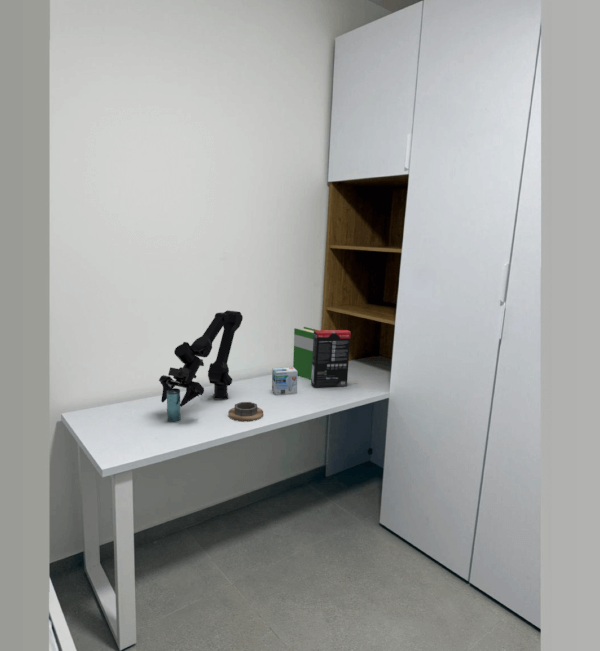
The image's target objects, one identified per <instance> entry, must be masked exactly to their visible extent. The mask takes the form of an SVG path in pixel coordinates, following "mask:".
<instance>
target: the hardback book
mask: <svg viewBox="0 0 600 651" xmlns="http://www.w3.org/2000/svg"><path fill="white" fill-rule="evenodd" d="M293 330H294V331H293V334H294V336H293V362H292V364H293V366H292V367H294V368H295V369H296V370H297V371H298V376H299V377H301V378H304V379H306V380H309V381H311V374H312V357H313V338H314V330H317V329H315V328H313V327H306V326H304V327H303V328H294V329H293ZM298 376H297V377H298Z"/></svg>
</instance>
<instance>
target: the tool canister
mask: <svg viewBox="0 0 600 651" xmlns="http://www.w3.org/2000/svg"><path fill="white" fill-rule="evenodd" d="M180 404H181V389H180V388H176V387H174V388H172V389H168V390H167V399H166V411H167V412H166V417H167V418H166V420H167V422H169V423H178V422H180V421H181V420H182V419H181V406H180Z"/></svg>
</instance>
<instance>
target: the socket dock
mask: <svg viewBox="0 0 600 651" xmlns="http://www.w3.org/2000/svg"><path fill="white" fill-rule="evenodd" d="M227 416H228V417H229V419H231V418H232V419H231V420H233V419H234V420H233V421H236V420H238V421H237V422H244V421H247V422H254V421H253V420H255V421H258V420H260V419H262V418H263V417H264V410H263V409H262V408H260V407H258V404H257V403H255V402H252V401H241V402H238V403H234V407H232V408H230V409H229V410H228V415H227ZM262 416H263V417H262ZM261 417H262V418H261ZM257 419H258V420H257Z"/></svg>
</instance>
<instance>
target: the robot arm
mask: <svg viewBox="0 0 600 651" xmlns="http://www.w3.org/2000/svg"><path fill="white" fill-rule="evenodd" d="M243 318H244V317H243V315H242V313H241V312H240V311H235V310H228V309H227V310H225V311H224V312H216V313H215V315H214V318H213V319H212V321H211V322H210V324H209V325H208V326H207V328H206V329H205V331H204V333H203V334H202V335H201V336H199V337H198V338H196V339H195V340H194V341H192V344H190V343H189V342H187V341H183V342H182V343H181V344H179V345H177V346H176V347H175V349H174V355H175V356H176V357H177V358H178V360H179V361H180V362H181V363H182V364H183V365H182V366H183V367H181V366H180V367H179V368H176V367H170V368H169V369H168V370H169V371H168V375H165V374H163V375H160V378H159V379H158V381H159V382H160V384H161V385H162V394H161V400H160V401H161V403H164V402H165V401H167V390H168V389H172V388H176V387H179V388H183V389H186V390H185V393H184V396H183V397H182V399H181V400H180V408H183V407H185V405H187V404H188V403H189V402H190V401H192V400H193V399H195V398H196V397H199V396H203V394H204V392H205V387H203V385H201V383H200V382H198V381H193V380H194V379H197V375H196V374H197V372H198V371H199V369H200V367H204V366H205V363H204V359H202V358H207V357H208V356H209V355H210V353H211V351H212V349H213V343H214V341H215V339H216V337H217V336H218V334H219V333H220V332H221V330H222V328H223V332H222V336H221V339H220V343H219V347H218V351H217V355H216V358H215V361H213V363H212V362H211V363H210V364H209V369H208V370H207V378H208V382H209V384H212V385H214V386H213V387H214V388H213V389H214V391H213V392H214V393H213V395H212V396H213V398H212V399H213V400H228V399H229V392H228V386H231V385H232V383H233V378H232V377H231V375H229V371H230V370H229V369H230V368H229V365H228V361H229V356H230V353H231V350H232V344H233V340H234V336H235V333H236V331H237V330H238V329H239V328H240V327H241V324H242V321H243ZM171 376H172V377H173V378H172V377H171Z"/></svg>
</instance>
